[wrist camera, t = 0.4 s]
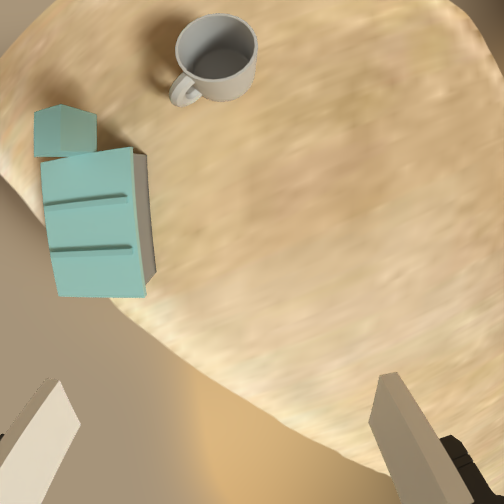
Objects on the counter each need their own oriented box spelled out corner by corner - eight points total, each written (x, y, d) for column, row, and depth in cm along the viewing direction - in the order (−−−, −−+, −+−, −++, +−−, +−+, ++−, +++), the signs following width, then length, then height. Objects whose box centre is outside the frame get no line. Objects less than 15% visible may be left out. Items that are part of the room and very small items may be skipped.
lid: (44, 127, 26) (4, 122, 20) (132, 107, 26) (102, 93, 20) (62, 293, 31) (30, 319, 24) (146, 294, 31) (124, 326, 25)
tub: (74, 165, 33) (48, 166, 27) (146, 154, 33) (128, 152, 28) (86, 273, 37) (64, 289, 31) (156, 271, 37) (141, 290, 31)
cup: (268, 74, 31) (275, 46, 23) (203, 132, 33) (189, 121, 24) (224, 36, 30) (219, 0, 21) (161, 92, 31) (136, 71, 23)
